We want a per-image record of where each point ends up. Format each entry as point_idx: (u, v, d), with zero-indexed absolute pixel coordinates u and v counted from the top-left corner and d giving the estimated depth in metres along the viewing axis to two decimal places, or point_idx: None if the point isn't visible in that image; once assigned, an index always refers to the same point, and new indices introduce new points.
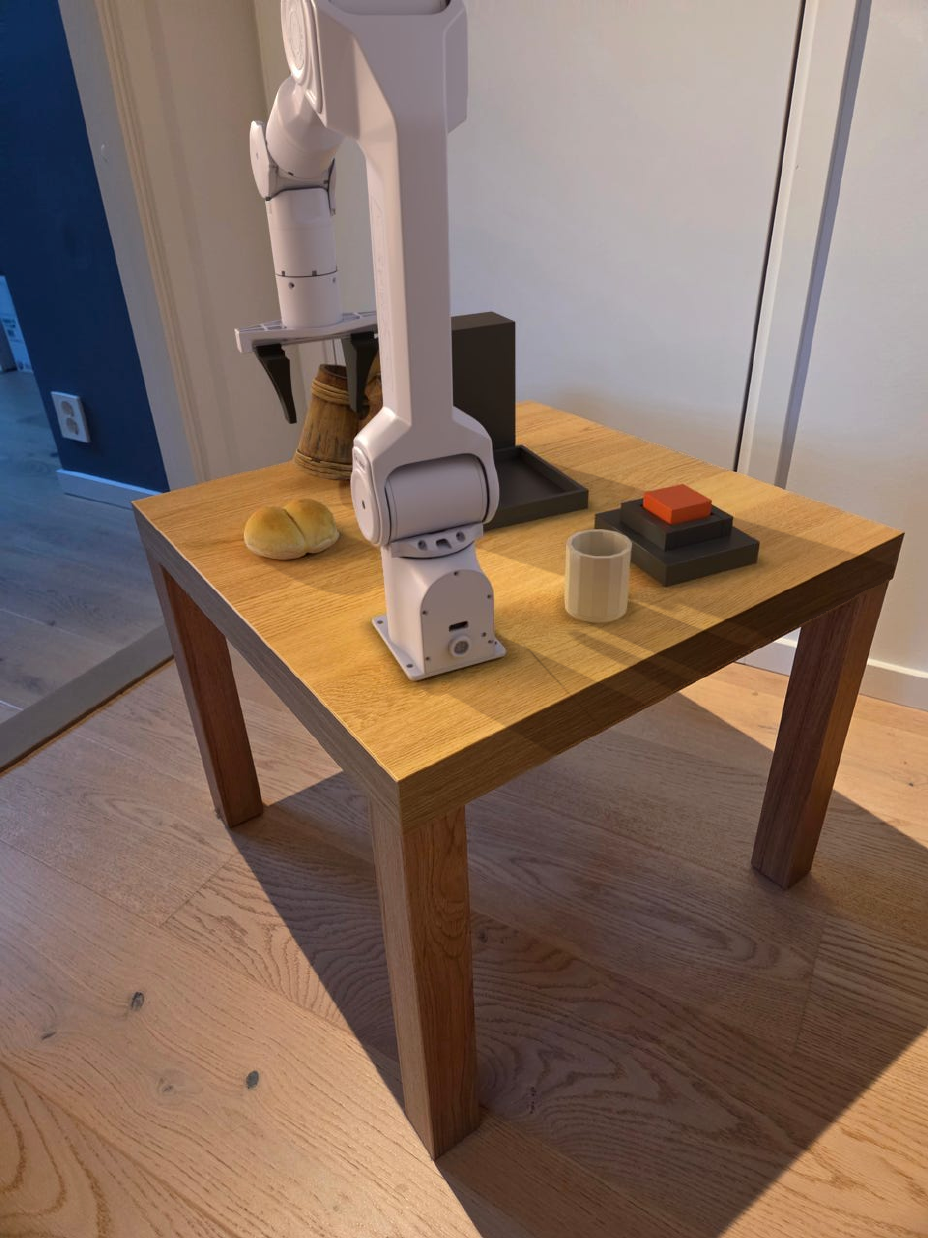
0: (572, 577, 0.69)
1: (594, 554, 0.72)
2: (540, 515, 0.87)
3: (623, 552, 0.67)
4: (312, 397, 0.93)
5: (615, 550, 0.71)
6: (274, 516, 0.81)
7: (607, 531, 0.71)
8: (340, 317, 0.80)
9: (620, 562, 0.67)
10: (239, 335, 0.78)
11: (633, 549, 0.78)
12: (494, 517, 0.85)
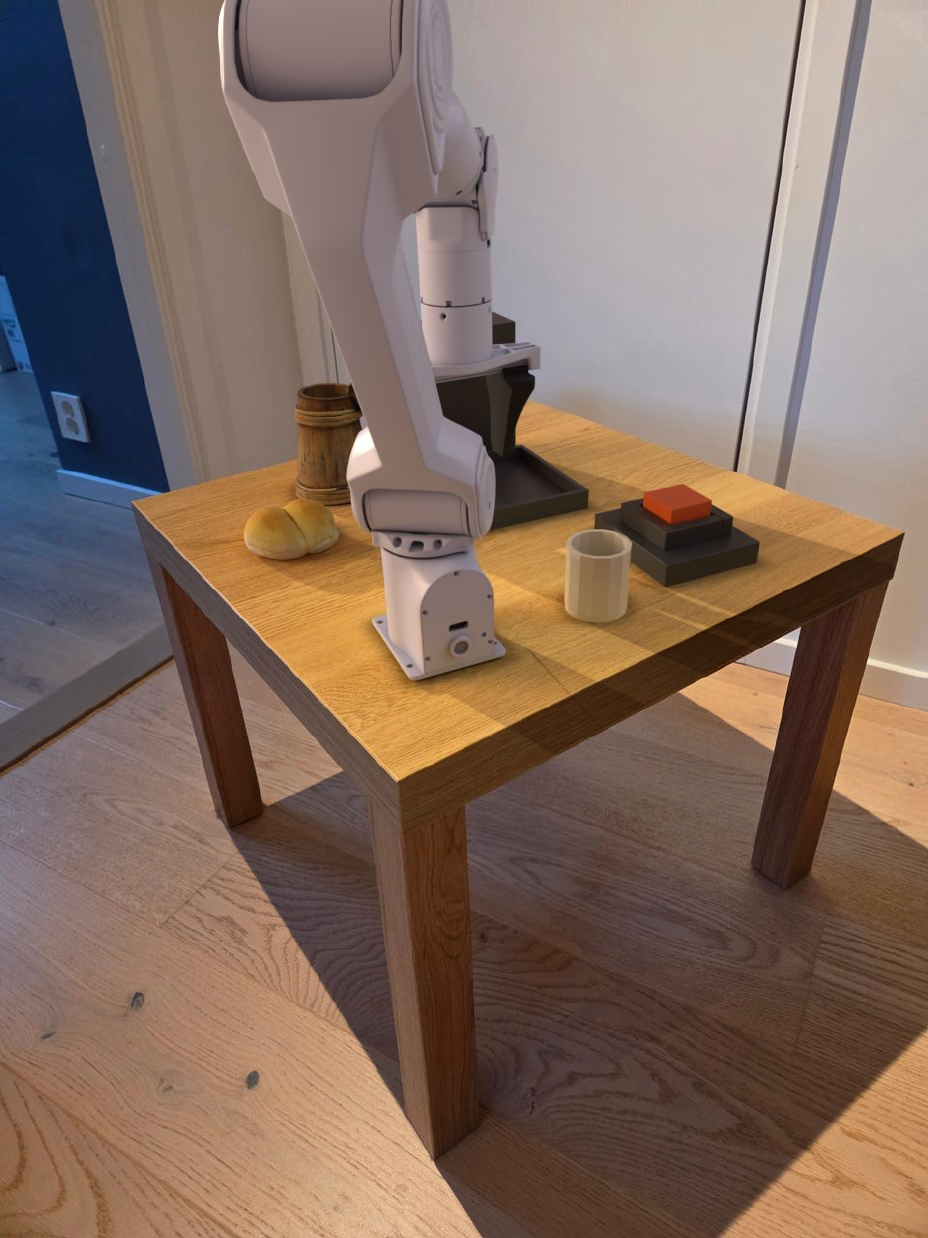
0: (572, 577, 0.69)
1: (594, 554, 0.72)
2: (540, 515, 0.87)
3: (623, 552, 0.67)
4: (308, 430, 0.89)
5: (615, 550, 0.71)
6: (274, 516, 0.81)
7: (607, 531, 0.71)
8: (491, 351, 0.70)
9: (620, 562, 0.67)
10: None
11: (633, 549, 0.78)
12: (494, 517, 0.85)
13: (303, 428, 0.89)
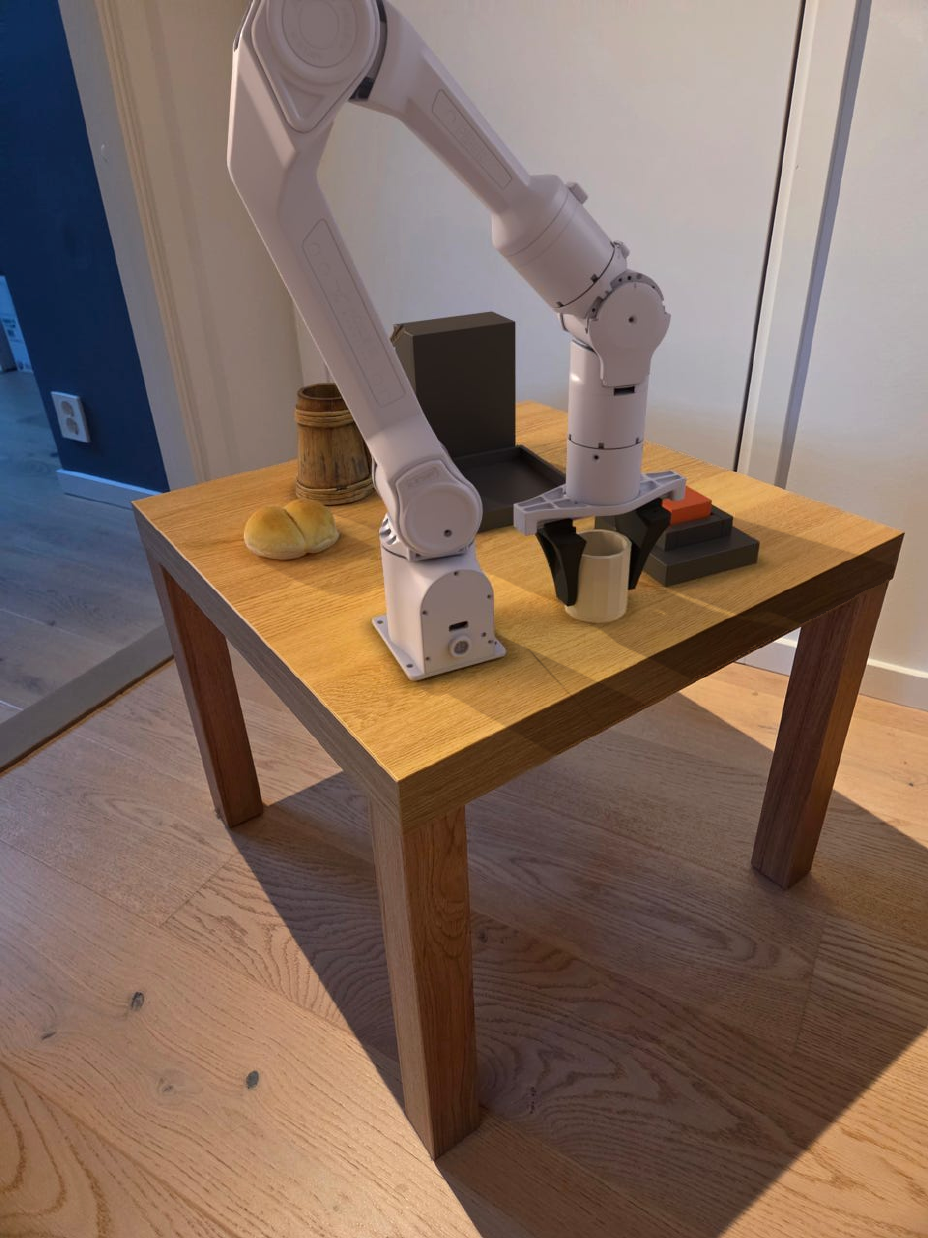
0: None
1: (594, 554, 0.72)
2: None
3: (623, 552, 0.67)
4: (308, 430, 0.89)
5: (615, 550, 0.71)
6: (274, 516, 0.81)
7: (607, 531, 0.71)
8: (639, 488, 0.66)
9: (620, 562, 0.67)
10: (525, 516, 0.63)
11: None
12: (494, 517, 0.85)
13: (303, 428, 0.89)
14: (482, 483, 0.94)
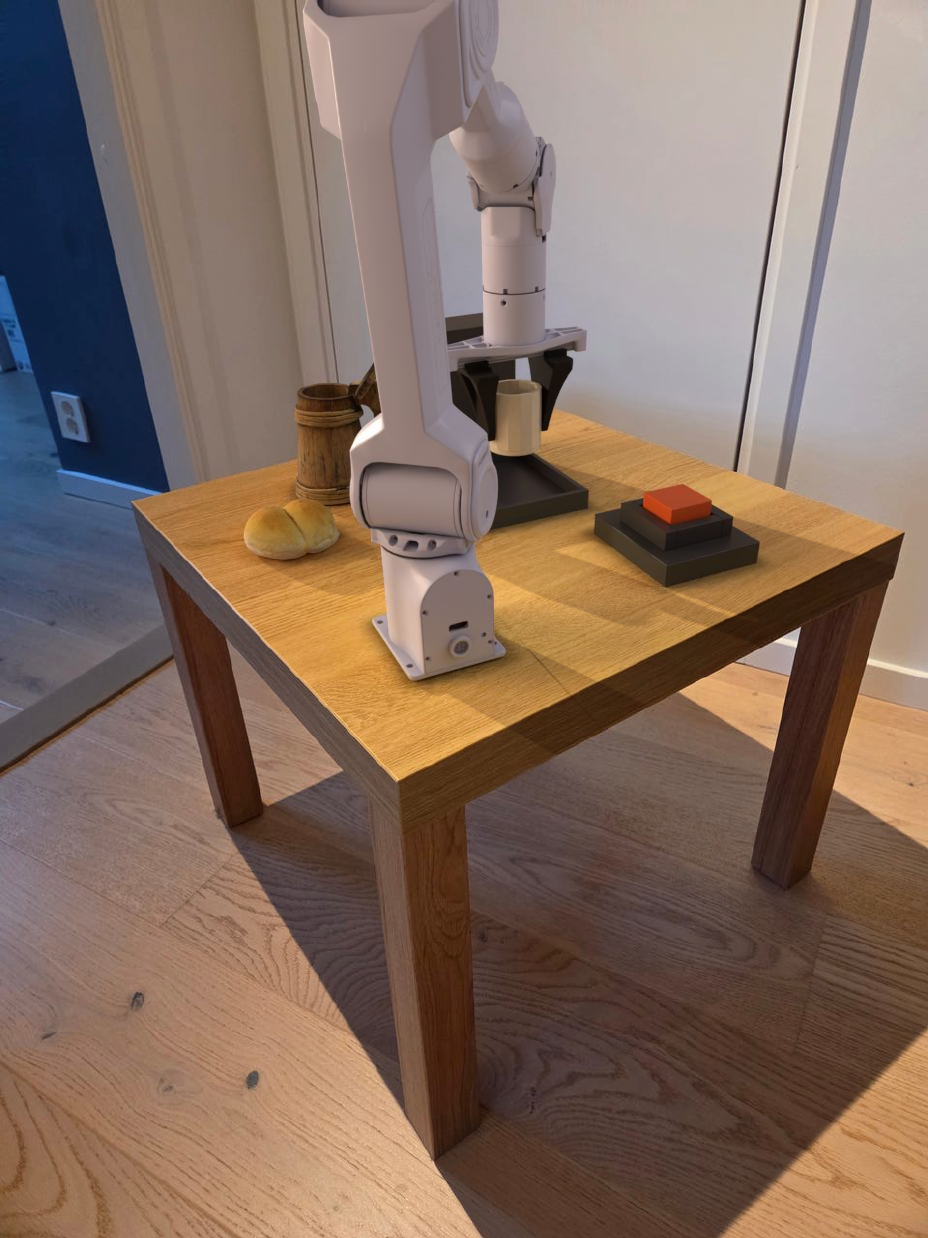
0: None
1: None
2: (540, 515, 0.87)
3: (532, 391, 0.80)
4: (308, 430, 0.89)
5: None
6: (274, 516, 0.81)
7: (523, 380, 0.84)
8: (544, 334, 0.79)
9: (530, 400, 0.80)
10: None
11: (633, 549, 0.78)
12: (494, 517, 0.85)
13: (303, 428, 0.89)
14: None
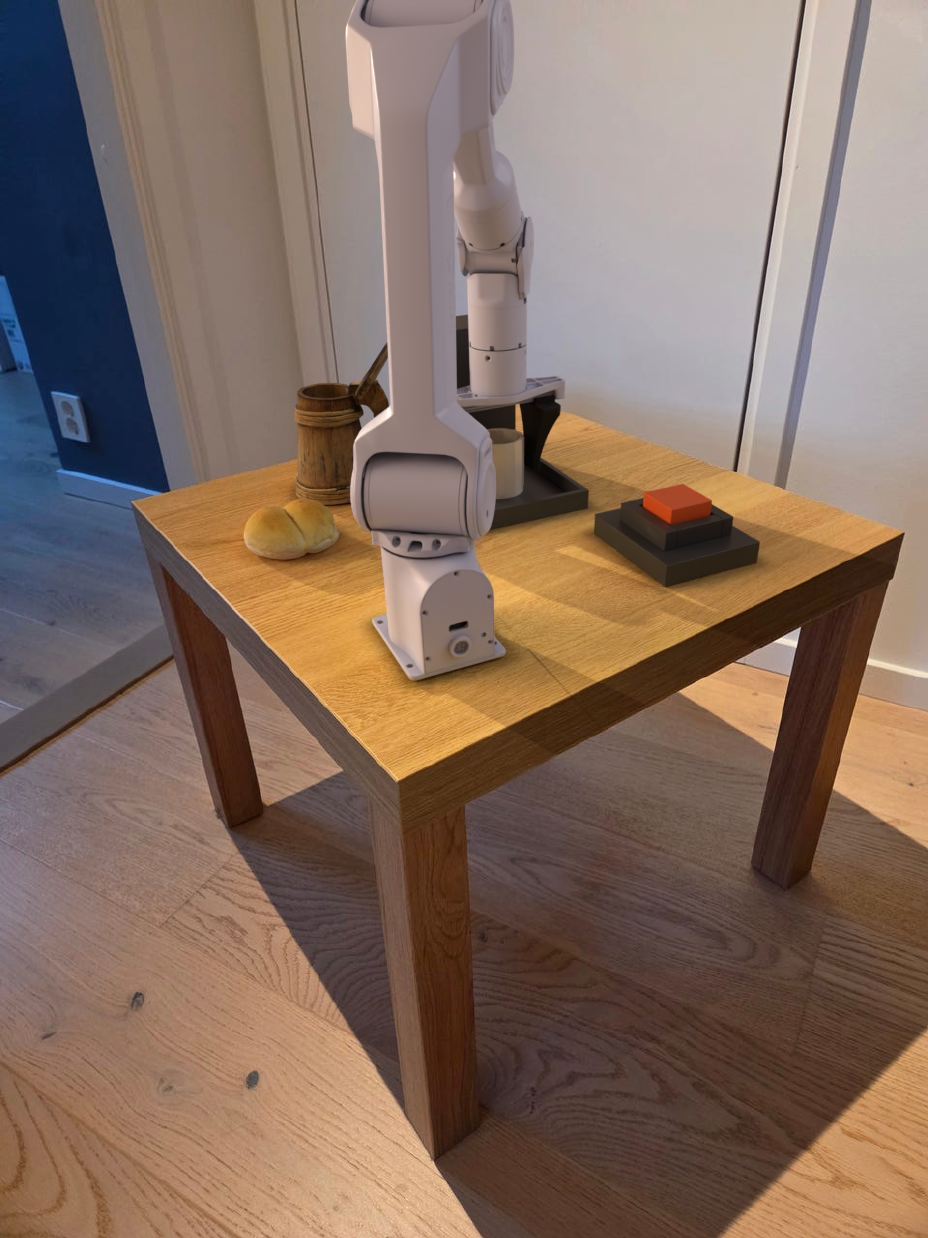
0: None
1: None
2: (540, 515, 0.87)
3: (515, 441, 0.88)
4: (308, 430, 0.89)
5: None
6: (274, 516, 0.81)
7: (507, 429, 0.91)
8: (525, 385, 0.86)
9: (513, 449, 0.88)
10: None
11: (633, 549, 0.78)
12: (494, 517, 0.85)
13: (303, 428, 0.89)
14: None
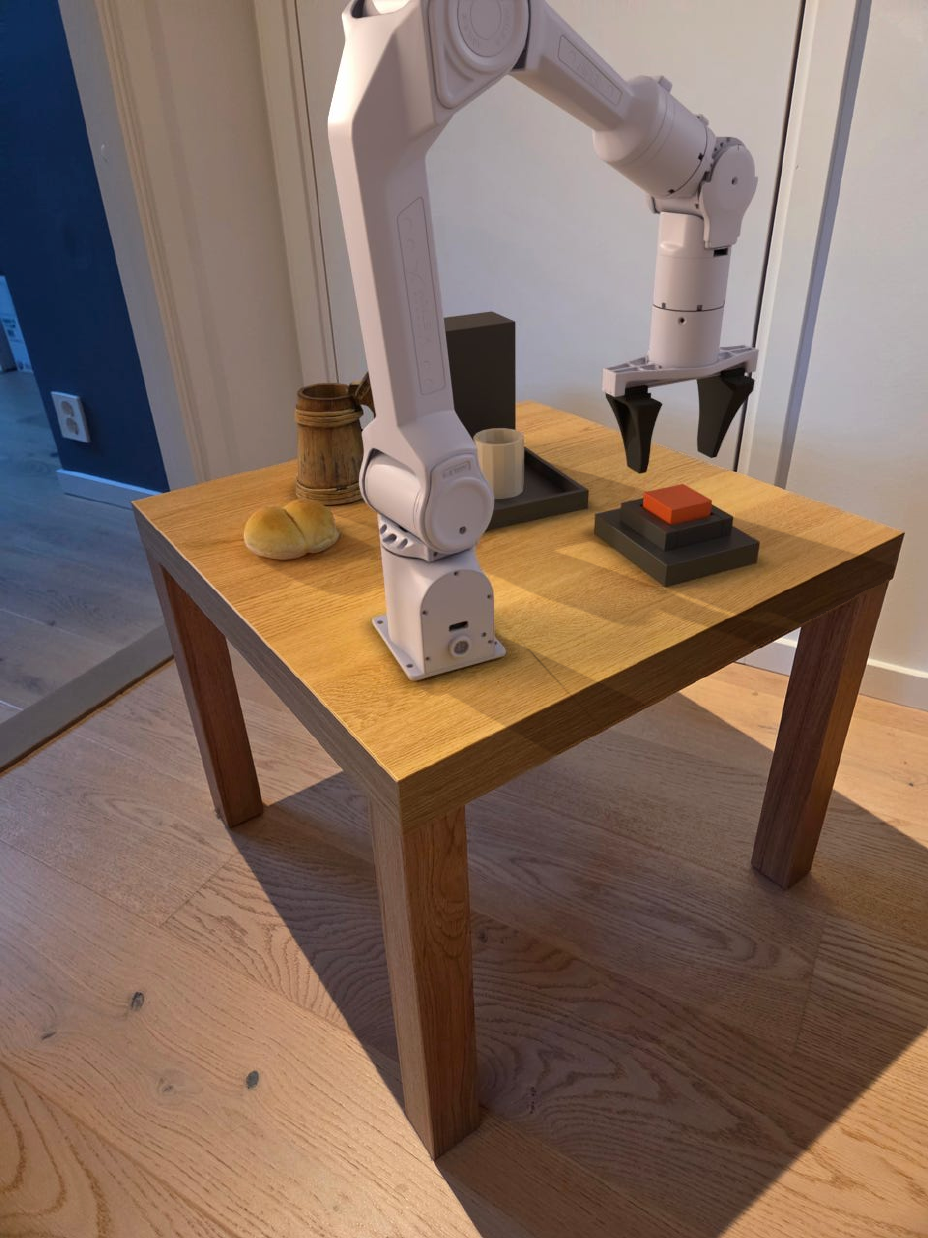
0: None
1: None
2: (540, 515, 0.87)
3: (515, 441, 0.88)
4: (308, 430, 0.89)
5: None
6: (274, 516, 0.81)
7: (507, 429, 0.91)
8: None
9: (513, 449, 0.88)
10: (616, 376, 0.69)
11: (633, 549, 0.78)
12: (494, 517, 0.85)
13: (303, 428, 0.89)
14: None
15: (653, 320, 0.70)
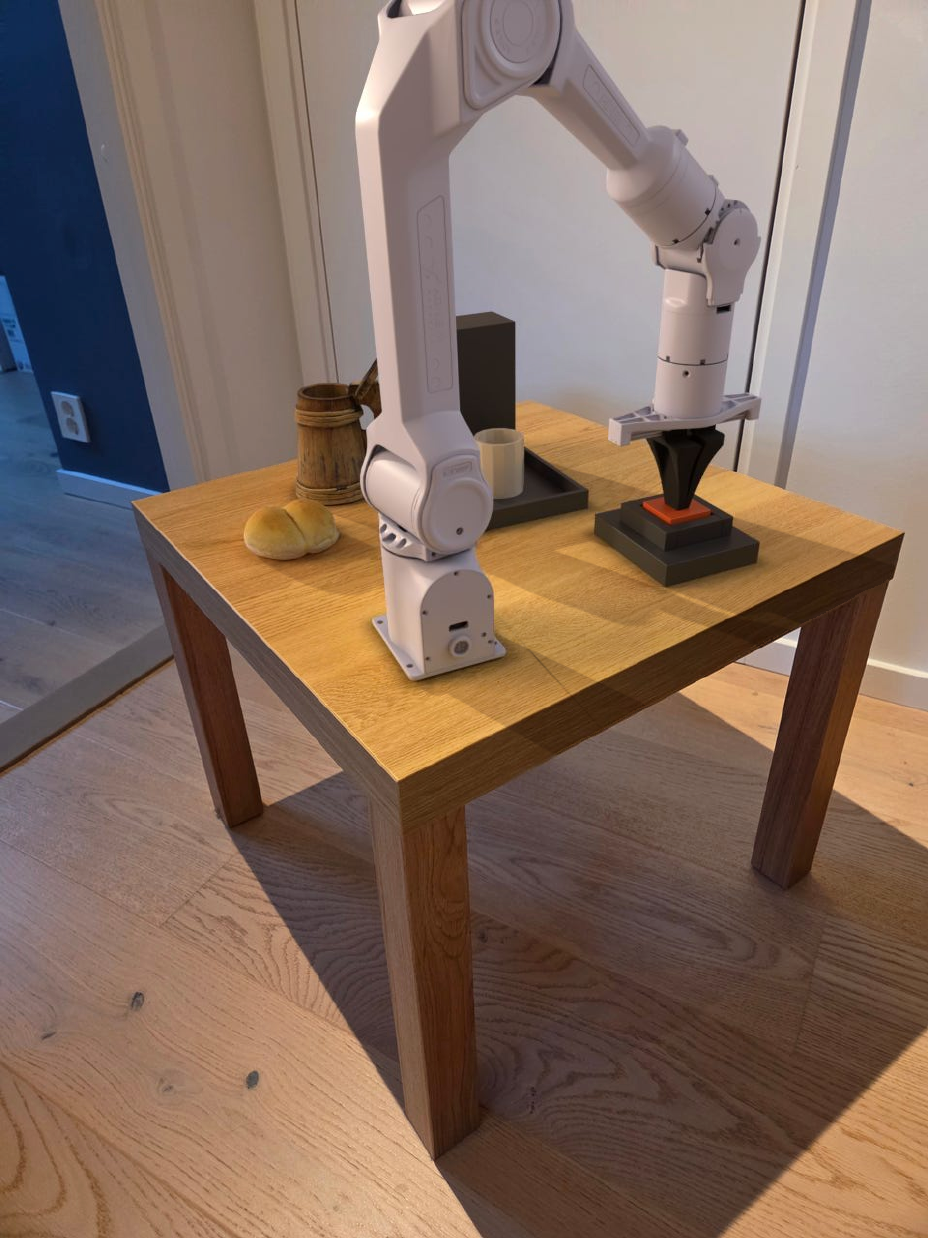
0: None
1: None
2: (540, 515, 0.87)
3: (515, 441, 0.88)
4: (308, 430, 0.89)
5: None
6: (274, 516, 0.81)
7: (507, 429, 0.91)
8: None
9: (513, 449, 0.88)
10: (621, 427, 0.71)
11: (633, 549, 0.78)
12: (494, 517, 0.85)
13: (303, 428, 0.89)
14: None
15: (658, 372, 0.71)
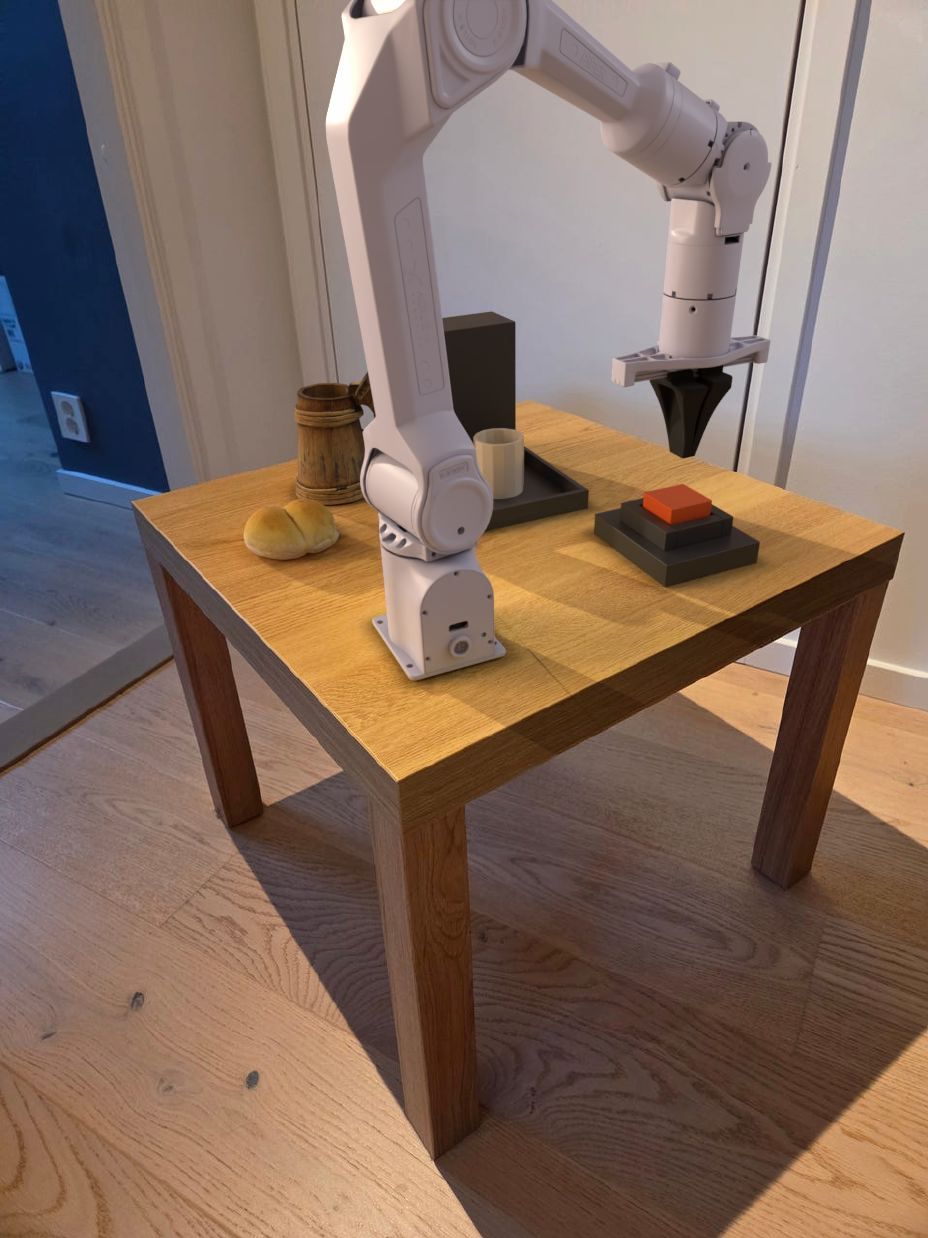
0: (478, 463, 0.89)
1: None
2: (540, 515, 0.87)
3: (515, 441, 0.88)
4: (308, 430, 0.89)
5: None
6: (274, 516, 0.81)
7: (507, 429, 0.91)
8: (729, 345, 0.70)
9: (513, 449, 0.88)
10: (625, 366, 0.68)
11: (633, 549, 0.78)
12: (494, 517, 0.85)
13: (303, 428, 0.89)
14: None
15: (663, 309, 0.69)
